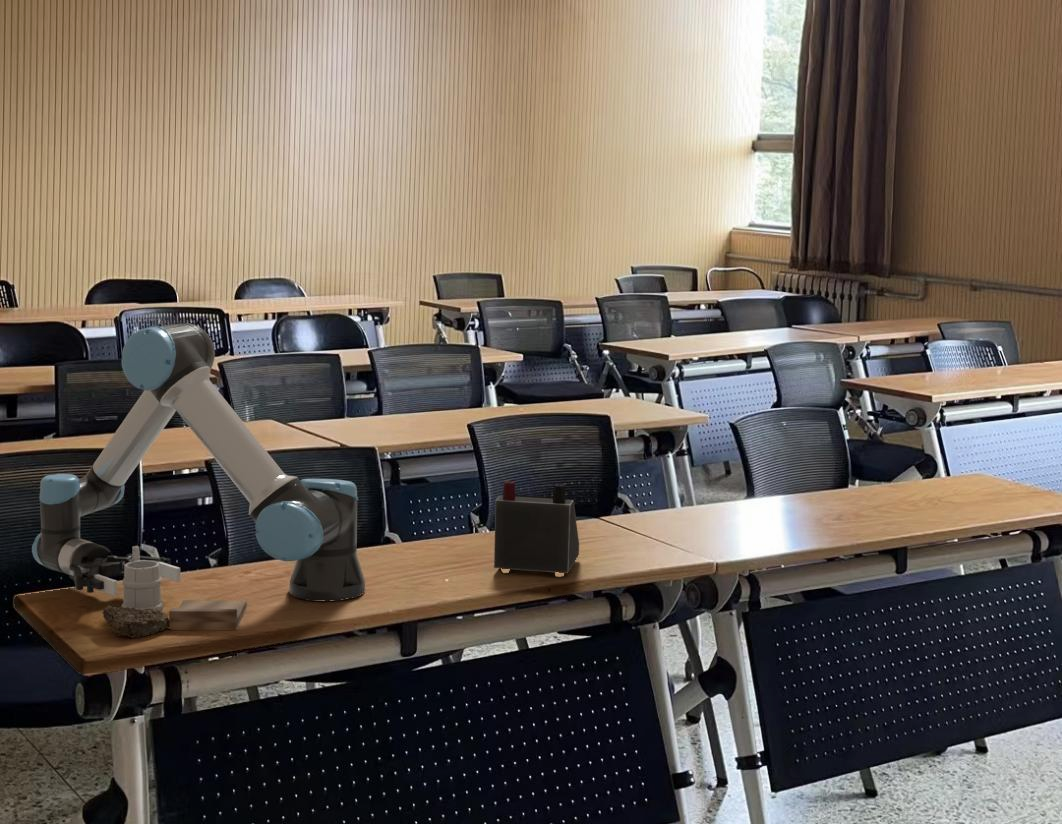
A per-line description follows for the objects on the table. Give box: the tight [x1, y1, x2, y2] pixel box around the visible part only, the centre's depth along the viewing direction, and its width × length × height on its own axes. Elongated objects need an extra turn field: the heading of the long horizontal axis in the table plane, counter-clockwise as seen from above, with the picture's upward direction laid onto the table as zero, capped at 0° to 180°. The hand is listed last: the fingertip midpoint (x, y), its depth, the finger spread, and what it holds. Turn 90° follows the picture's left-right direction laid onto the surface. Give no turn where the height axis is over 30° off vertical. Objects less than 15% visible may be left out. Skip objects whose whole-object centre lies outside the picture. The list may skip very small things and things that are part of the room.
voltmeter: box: [493, 480, 580, 574], centre depth 301 cm, size 16×16×20 cm
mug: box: [121, 545, 165, 613], centre depth 260 cm, size 8×12×12 cm, turn 27°
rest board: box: [168, 599, 248, 631], centre depth 258 cm, size 12×14×4 cm
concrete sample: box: [102, 605, 169, 639], centre depth 249 cm, size 12×10×5 cm
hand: (147, 581), depth 259 cm, fingers open, 13 cm apart
